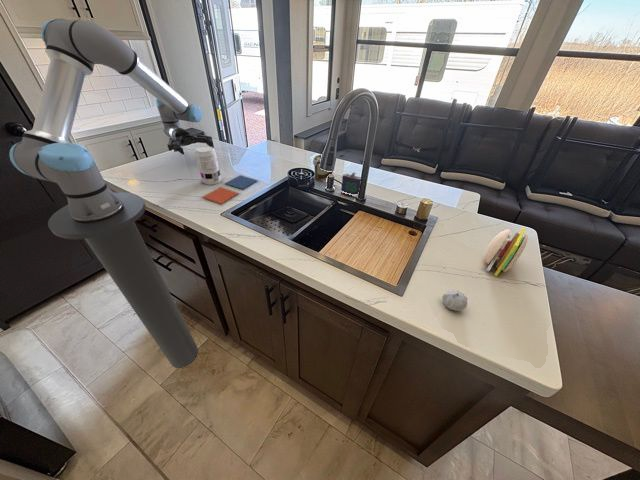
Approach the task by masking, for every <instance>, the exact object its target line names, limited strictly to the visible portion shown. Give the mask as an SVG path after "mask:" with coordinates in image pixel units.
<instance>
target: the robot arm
mask: <svg viewBox="0 0 640 480" xmlns="http://www.w3.org/2000/svg"><path fill="white" fill-rule="evenodd" d="M40 35H41V39H42V42H43V43H44V46H45V51H44V53H45V54H46V56H47V57H48V59H49V64H48V68H47V71H46V76H45V79H44V83H43V87H42V90H41V95H40V99H39V102H38V105H37V106H38V107H37V110H36V115H35V117H34V118H35V119H34V122H33V126H32V129H30V130H27V131H24V132H23V135H22V139H21V141H18V142H17V143H14V144H13V145H12V146H11V148H10V150H9V154H8V155H9V160H10V162H11V164H12V166H14V168H15V169H17V170H18V171H19V172H21V173H22V174H24V175H26V176H28V177H31V178H33V179H38V180H42V181H47V182H51V183H55V184H57V185H58V186H59V188H60V190H61V192H63V194H64V195H65V197H66V199H67V205H69V211H70V215H71V216H72V218H73V219H74V220H75V221H77V222H81V223H91V222H98V221H102V220H105V219H108V218H111V217H113V216H115V215H116V214H118V213H119V212H121V211H122V209H123V207H124V205H123V203H122V201H121V200H120V199H119V198H118V197H117V196H116V195H115V194H114V193H115V192H114V191H113V190H111V189H110V188H109V186H108V185H107V183H106V181H105V179H104V177H103V175H102V173H101V172H100V170H99V168H98V166H97V164H96V162H95V159H94V157H93V156H92V154H91V153H90V151H89V150H88V149H87V148H86V147H85V146H83V145H82V144H78V143H76V142H70V138H71V134H72V130H73V125H74V122H75V118H76V114H77V110H78V106H79V102H80V99H81V95H82V91H83V87H84V83H85V79H86V77H90V76H92V75H93V73H94V69H95V65H102V66H106V67H108V68H110V69H112V70H114V71H116V72H117V73H118V74H120V75H121V76H127V77H128V78H129V79H131V80H132V81H133V82H135V83H136V84H137V85H138V86H140V87H141V88H143V89H144V90H145V91H147V93H149V94H151V95H152V96H153V97H154V99H155V104H156V108H157V111H158V115H159V117H160V120H161V123H162V127H161V128H162V131H163V133H164V134H165V135H166V136H167V137H168V143H167V144H166V146H167V149H168V151H169V152H170V151H173V152H174V153H177V152H179V153H180V154H181V155H185V152H184V148H183V146H188V145H189V144H197V143H199V144H206V146H211V147H213V149H214V148H215V146H214V141H213V140H214V139H213V137H212V136H209V135H204V134H201V133H195V134H190V132H189V131H188V130H187V129H185V128H183V127H182V126H181V124H180V121H184V122H190V123H199V122H201V121H202V119H203V111H202V109H201V107H200V106H199V105H197V104H191V103H189V101H187V100H186V98H184V97H183V96H182V95H180V94H179V92H177V91H176V90H175V89H174V88H172V86H170V85H169V83H167V82H166V81H165V80H163V79H162V78H161V77H160V76H159V75H158V74H156V72H154V71H153V70H152V69H151V68H150V67H148V66H147V64H145V63H144V62H143V61H142V60H141V59H140V58H139V55H138V53H137V52H136V51H135V50H134V49H133V48H131V46H129V45H128V44H127V43H126V42H124V41H123V40H122V39H121V38H119V36H117V35H116V34H114V33H113V32H111V31H110V30H109V29H108V28H105V27H104V26H102V25H100V24H98V23H96V22H94V21H91V20H84V19H81V20H80V19H67V18H61V17H60V18H59V17H58V18H53V19H48V20H46V21H45V22H44V23H43V24H42V27H41V31H40Z"/></svg>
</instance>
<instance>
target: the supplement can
mask: <svg viewBox="0 0 640 480" xmlns="http://www.w3.org/2000/svg"><path fill="white" fill-rule="evenodd" d="M194 155H195V160H196V163H197V167H198V171H199V174H200V178H201V181H202V183H203V184H204V185H208V186H212V185H217V184H219V183H220V182H221V181H222V176H221V175H222V174H221V172H220V167H219V162H218V157H217V153H216V150H215V149H214V148H213V147H211V146H208V145H203V146H202V145H201V146H198V147H196V148H195V151H194Z"/></svg>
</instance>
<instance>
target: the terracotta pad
mask: <svg viewBox="0 0 640 480" xmlns="http://www.w3.org/2000/svg"><path fill="white" fill-rule="evenodd" d="M238 195H239V193H238V192H235V191H234V190H233V191H232V190H229V189H226V188H223V187H218V188H217V189H215V190H213V191H211V192H209V193H207V194H205V195H204V196H202V199H204V200H207V201H210V202H214V203H216V204H219V205H223V204H225V203H226V202H227V201H229V200H231V199H233V198H234V197H236V196H238Z"/></svg>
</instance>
